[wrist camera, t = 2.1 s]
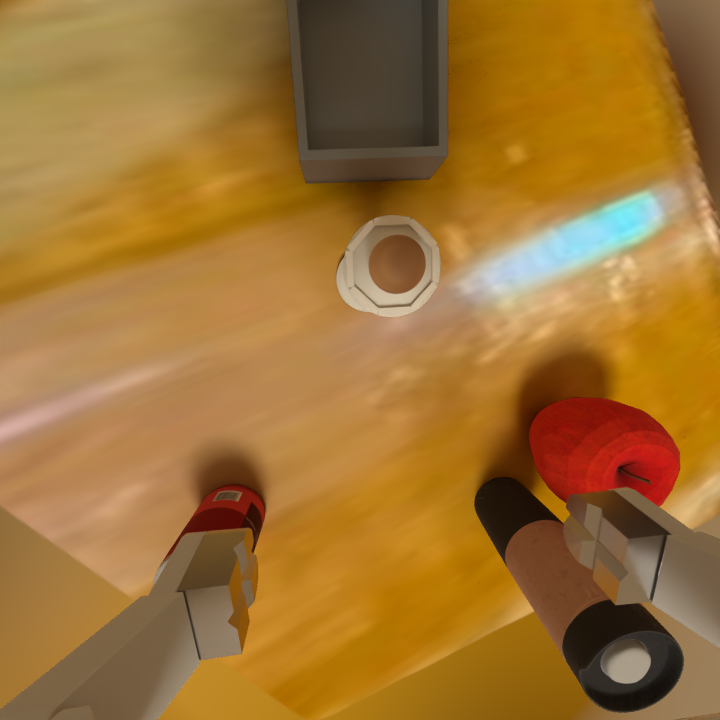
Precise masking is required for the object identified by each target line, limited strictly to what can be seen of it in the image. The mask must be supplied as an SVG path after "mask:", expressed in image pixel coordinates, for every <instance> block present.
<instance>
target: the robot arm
mask: <svg viewBox="0 0 720 720" xmlns="http://www.w3.org/2000/svg"><path fill="white" fill-rule="evenodd" d="M566 508H567V510H568V511H569V513H570V516H569V517H568V518H567V519H566V520H565V522H564V530H563V534H564V538H565V541H566V545H567V547H568V548H569V550H570V552H571V554H572V555H573V556H574V557H575V559H576V560H577V561H578V562H579V563H580V564H582V565H584V566H586V567H587V568H589V569H591V570H592V577H593V580H594V581H595V582H596V583H597V584H598V586H599V587H600V588H601V589H602V590H603V591H604V592H605V594H606V595H607V596H608V597H609V598H610V599H611V601H612V602H613V603H614V604H615V605H623V604H634V603H644V602H652V604H653V605H654V606H656V607H657V608H659V609H660V610H662V611H663V612H665V613H667V614H668V615H670V616H671V617H673V618H674V619H676V620H677V621H679V622H680V623H682V624H683V625H685V626H686V627H688V628H689V629H691V630H692V631H694V632H696V633H697V634H699V635H700V636H702V637H703V638H705V639H706V640H708V641H709V642H711V643H712V644H714V645H716V646H717V647H718V648H720V539H719V538H716V537H714V536H711V535H708V534H706V533H703V532H694V531H692V530H691V529H689V528H688V527H687V526H685V525H684V524H682V523H681V522H680V521H678V520H677V519H675V518H674V517H672V516H671V515H670V514H668V513H667V512H665V511H664V510H663V509H661V508H660V507H658V506H657V505H656V504H654V503H653V502H651V501H650V500H648V499H647V498H646V497H644V496H643V495H641V494H640V493H639V492H637V491H636V490H634V489H631V488H628V487H624V488H616V489H608V490H604V491H595V492H586V493H577V494H570V496H569V497H568V499H567V504H566ZM253 543H254V538H253V533H252V530H251V529H250V528H239V529H226V530H214V531H208V532H194V533H187V534H185V535H184V536H183V537H182V538H181V539H180V541H179V543H178V544H177V546H176V548H175V550H174V551H173V553H172V555H171V557H170V558H169V560H168V562H167V564H166V565H165V567H164V569H163V571H162V572H161V574H160V576H159V578H158V579H157V581H156V583H155V585H154V586H153V588H152V590H151V592H150V593H149V595H148V596H142V597H140V598H139V599H137V600H136V601H135V602H134V603H132V604H131V605H130V606H129V607H127V608H126V609H125V610H124V611H123V612H121V613H120V614H119V615H117V616H116V617H115V618H114V619H112V620H111V621H110V622H109V623H108V624H106V625H105V626H104V627H102V628H101V629H100V630H99V631H98V632H96V633H95V634H94V635H93V636H91V637H90V638H89V639H88V640H86V641H85V642H84V643H83V644H81V645H80V646H79V647H78V648H76V649H75V650H74V651H73V652H71V653H70V654H69V655H68V656H66V657H65V658H64V659H63V660H61V661H60V662H59V663H58V664H57V665H55V666H54V667H53V668H51V669H50V670H49V671H48V672H46V673H45V674H44V675H43V676H41V677H40V678H39V679H38V680H37V681H35V682H34V683H33V684H31V685H30V686H29V687H28V688H26V689H25V690H24V691H23V692H21V693H20V694H19V695H18V696H17V697H15V698H14V699H13V700H11V701H10V702H9V703H8V704H7V705H5V706H4V707H3V708H1V709H0V720H158V718H159V717H160V716H161V714H162V713H163V712H164V710H165V709H166V708H167V707H168V705H169V704H170V703H171V701H172V700H173V699H174V697H175V696H176V694H177V693H178V692H179V690H180V689H181V688H182V687H183V685H184V684H185V683H186V681H187V680H188V678H189V677H190V676H191V675H192V673H193V672H194V670H195V669H196V668H197V667H198V665H199V664H200V660H207V659H213V658H219V657H225V656H231V655H237V654H242V651H243V647H244V642H245V638H246V634H247V630H248V626H249V622H250V621H249V615H248V608H249V607H250V606H251V605H252V603H253V602H254V600H255V596H256V591H257V583H258V562H257V556H256V555H255V554H254V553H252V552H251V550H252V547H253ZM677 720H720V713H715V714H709V715H702V716H695V717H689V718H683V719H677Z"/></svg>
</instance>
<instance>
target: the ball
mask: <svg viewBox="0 0 720 720" xmlns="http://www.w3.org/2000/svg"><path fill="white" fill-rule="evenodd" d="M425 268H426V259H425V254H424V252H423V250H422V248H421V246H420V245H419V244H418V243H417V242H416V241H415V240H414V239H412V238H410V237H408V236H405V235H391V236H388V237H386V238H384V239H382V240H381V241H380V242H378V243H377V244H376V246H375V247H374V248H373V250H372V252H371V254H370V258H369V273H370V276H371V278H372V280H373V282H374V283H375V284H376V285H377V287H379V288H380V289H381V290H383V291H385V292H388V293H391V294H402V293H405V292H408V291H410V290H412V289H413V288H414V287H416V286H417V285H418V283H419V282H420V281H421V279H422V277H423V275H424V272H425Z"/></svg>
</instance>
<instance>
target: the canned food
mask: <svg viewBox="0 0 720 720" xmlns="http://www.w3.org/2000/svg"><path fill="white" fill-rule="evenodd" d="M264 518H265V511H264V505H263V502H262V500H261V498H260V497H259V495H258V494H257V493H256V492H254V491H253V490H251V489H250V488H247V487H245V486H241V485H226V486H223V487H220V488H218V489H216V490H215V491H213V492H212V493H210V494H209V495H208V496H207V497H206V498H205V499H204V500H203V501H202V503H201V504H200V506H199V507H198V509H197V510H196V512H195V513H194V515H193V516H192V518H191V519H190V521H189V522H188V524H187V525H186V527H185V528H184V530H183V531H182V533H181V534H180V536H179V537H178V539H177V540H176V542H175V543H174V545H173V546H172V548H171V549H170V551H169V552H168V554H167V555H166V557H165V559H164V560H163V562H162V563H161V565H160V567H159V569H158V571H157V573H156V575H155V578H154V582H153V586H154V585H155V583H156V581H157V579H158V578H159V576H160V574H161V572H162V571H163V569H164V567H165V565H166V564H167V562H168V560H169V558H170V557H171V555H172V553H173V551H174V550H175V548H176V546H177V544H178V543H179V541H180V539H181V538H182V537H183V536H184V535H185V534H187V533H194V532H208V531H214V530H226V529H239V528H250V529H251V530H252V533H253V538H254V543H253V547H252V550H251V552H252V553H254V550H255V547H256V544H257V541H258V538H259V534H260V531H261V528H262V525H263V522H264Z"/></svg>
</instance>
